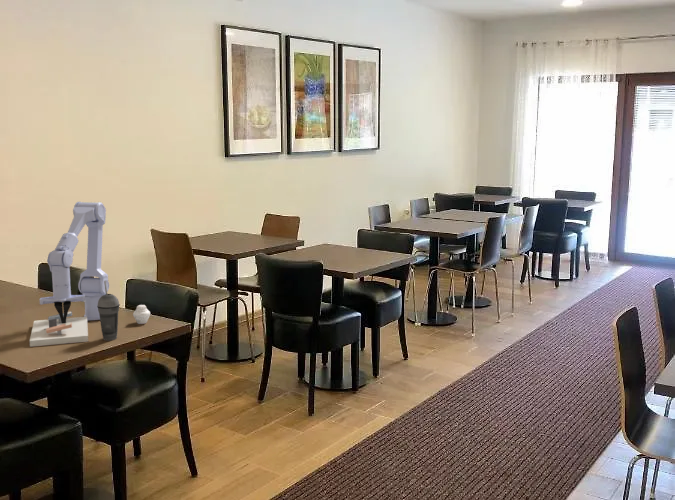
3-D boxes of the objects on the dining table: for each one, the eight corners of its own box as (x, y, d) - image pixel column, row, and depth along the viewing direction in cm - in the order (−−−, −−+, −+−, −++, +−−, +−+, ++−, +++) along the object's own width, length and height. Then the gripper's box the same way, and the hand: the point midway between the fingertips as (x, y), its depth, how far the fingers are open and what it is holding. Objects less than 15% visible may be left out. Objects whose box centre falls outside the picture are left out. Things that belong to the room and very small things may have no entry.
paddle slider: (57, 326, 241) (56, 318, 241) (56, 328, 238) (56, 320, 238) (49, 327, 240) (49, 318, 240) (49, 329, 237) (48, 320, 237)
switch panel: (87, 321, 255) (86, 312, 255) (88, 341, 231) (87, 331, 231) (34, 326, 249) (33, 317, 249) (29, 346, 225) (29, 336, 225)
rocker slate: (72, 313, 250) (71, 310, 250) (72, 315, 247) (71, 312, 247) (49, 319, 247) (48, 316, 247) (48, 321, 245) (47, 318, 244)
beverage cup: (108, 343, 230) (105, 284, 227) (94, 339, 234) (91, 281, 230) (125, 337, 236) (123, 280, 233) (111, 334, 240) (108, 278, 236)
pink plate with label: (71, 325, 235) (71, 322, 235) (71, 327, 232) (71, 324, 232) (47, 331, 233) (46, 328, 232) (46, 333, 230) (46, 330, 230)
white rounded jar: (130, 322, 255) (129, 304, 253) (144, 319, 259) (144, 301, 258) (139, 326, 250) (138, 307, 249) (153, 322, 255) (153, 304, 254)
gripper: (38, 288, 232) (40, 327, 234) (83, 285, 237) (86, 323, 239) (39, 284, 238) (41, 322, 241) (83, 281, 243) (85, 318, 246)
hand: (63, 322), depth 240 cm, fingers closed
